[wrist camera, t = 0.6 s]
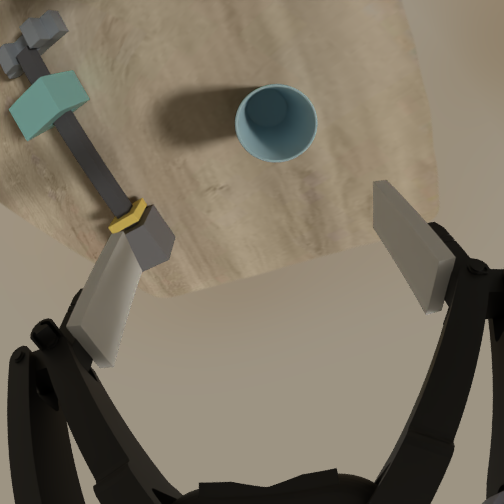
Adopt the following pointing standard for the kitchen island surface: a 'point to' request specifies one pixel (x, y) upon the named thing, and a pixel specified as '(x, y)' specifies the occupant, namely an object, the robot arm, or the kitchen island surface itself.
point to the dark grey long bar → (87, 154)
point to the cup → (276, 123)
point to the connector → (150, 239)
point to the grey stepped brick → (32, 40)
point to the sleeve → (47, 102)
